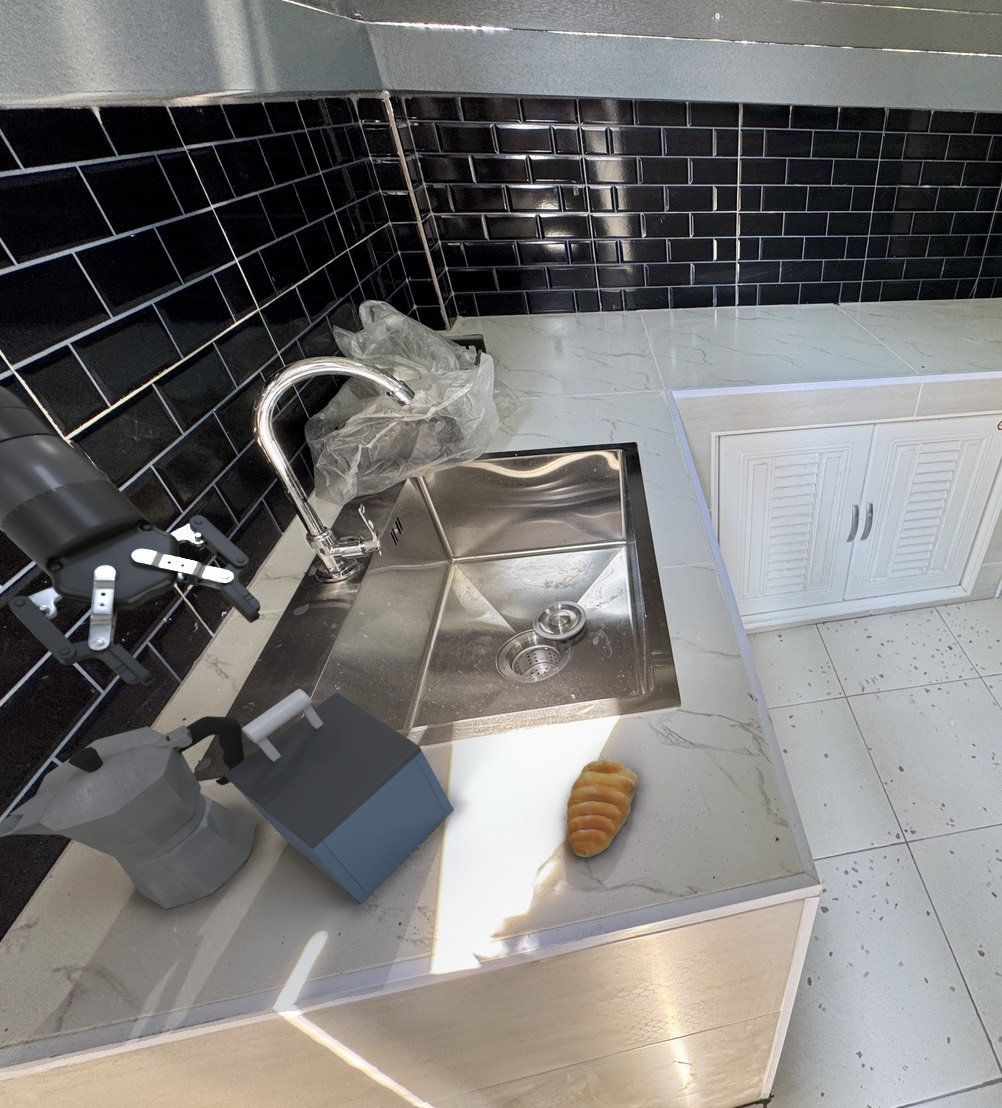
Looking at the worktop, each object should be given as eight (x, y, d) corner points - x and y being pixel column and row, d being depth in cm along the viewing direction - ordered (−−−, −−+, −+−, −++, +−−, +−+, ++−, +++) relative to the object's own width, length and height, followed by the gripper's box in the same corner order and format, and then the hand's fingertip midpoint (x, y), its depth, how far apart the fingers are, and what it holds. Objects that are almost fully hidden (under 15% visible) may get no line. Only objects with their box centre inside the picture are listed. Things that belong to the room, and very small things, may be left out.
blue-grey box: (287, 842, 60) (233, 784, 54) (382, 760, 68) (344, 700, 61) (361, 904, 56) (312, 849, 49) (454, 809, 63) (422, 751, 57)
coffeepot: (124, 952, 53) (-38, 857, 41) (108, 873, 58) (-41, 769, 46) (317, 829, 61) (226, 723, 50) (288, 770, 66) (199, 661, 55)
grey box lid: (227, 780, 54) (193, 743, 50) (339, 696, 61) (316, 660, 58) (312, 849, 49) (281, 815, 46) (422, 750, 57) (402, 714, 53)
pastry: (620, 864, 59) (615, 846, 57) (553, 857, 60) (546, 839, 57) (641, 777, 67) (638, 758, 64) (581, 772, 67) (576, 752, 65)
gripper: (157, 483, 58) (282, 611, 61) (-48, 564, 48) (113, 712, 51) (153, 448, 53) (290, 590, 55) (-79, 531, 43) (103, 699, 46)
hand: (205, 648), depth 53 cm, fingers open, 8 cm apart
